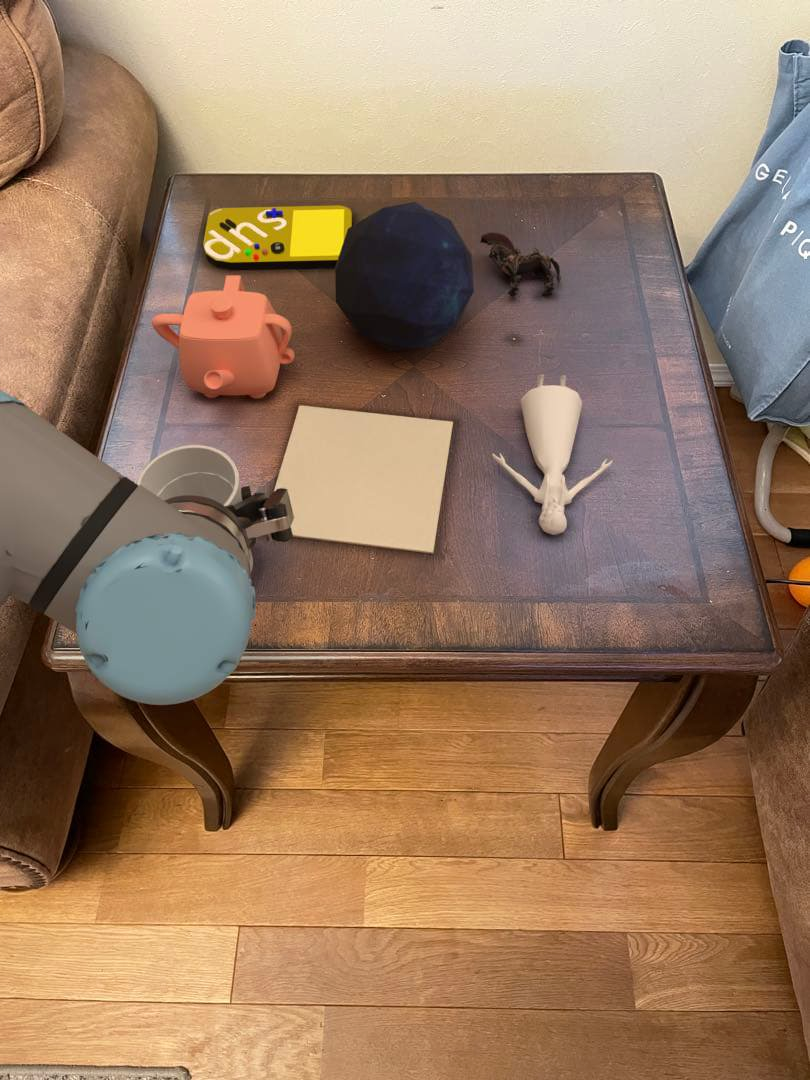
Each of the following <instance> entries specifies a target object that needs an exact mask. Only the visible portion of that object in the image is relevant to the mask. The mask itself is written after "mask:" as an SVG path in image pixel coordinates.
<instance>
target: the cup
mask: <svg viewBox="0 0 810 1080" xmlns="http://www.w3.org/2000/svg"><path fill="white" fill-rule="evenodd" d="M136 484H137V485H138V486H139V485H141V486H143V487H144V488H146V489H147V490H149V491H150V492H152V493H153V494H155V495H156V496H157V497H159V498H160V499H162V500H163V501H165V500H167V499H170V498H173V497H177V496H184V495H195V496H202V497H206V498H209V499H212V500H215V501H217V502H219V503H220V504H222V505H224V506H228V505H233V506H234V505H236V504H238V503H240V502H241V501H242V495H241V480H240V475H239V471H238V468H237V465H236V464H235V462H234V461H233V459H232V458H231V457H230V456H229V455H228V454H226V453H225V452H224V451H221V450H220V449H218V448H215V447H212V446H208V445H202V444H188V445H181V446H177V447H174V448H171V449H169V450H166V451H164V452H162V453H160V454H159V455H157V456H156V457H155V458H153V459H152V460H150V462H148V464H147V465H146V466H145V467H144V468H143V469H142V471H141V473H140V474H139V476H138V479H137V482H136ZM249 555H250V574H251V573H252V571H253V566H254V559H253V554H252V552H251V549H249Z"/></svg>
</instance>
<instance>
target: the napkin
mask: <svg viewBox="0 0 810 1080" xmlns="http://www.w3.org/2000/svg"><path fill="white" fill-rule="evenodd" d="M453 426H454V421H451V420H440V419H431V418H422V417H412V416H404V415H403V416H402V415H395V414H394V415H393V414H384V413H374V412H365V411H356V410H347V409H346V410H345V409H337V408H327V407H321V406H319V407H318V406H311V405H301V404H300V405H299V406H298V409H297V412H296V415H295V419H294V423H293V426H292V429H291V431H290V435H289V440H288V443H287V446H286V449H285V453H284V455H283V459H282V462H281V467H280V469H279V473H278V475H277V478H276V479H277V480H276V481H275V482H276V483H275V486H274V490H273V492H274V491H276V490H277V489H279V488H285V489H287V490H288V494H289V498H290V503H291V507H292V511H293V515H294V519H293V522H292V524H291V529H292V533H293V538H299V539H308V540H315V541H323V542H334V543H341V544H348V545H349V544H350V545H358V546H365V547H375V548H383V549H390V550H398V551H407V552H414V553H422V554H432V555H433V554H434V550H435V545H436V537H437V531H438V524H439V519H440V513H441V512H440V511H441V505H442V500H443V499H442V498H443V492H444V486H445V485H444V484H445V479H446V472H447V467H448V466H447V465H448V459H449V453H450V446H451V439H452V434H453V433H452V432H453Z"/></svg>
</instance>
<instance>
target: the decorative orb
mask: <svg viewBox="0 0 810 1080" xmlns="http://www.w3.org/2000/svg"><path fill="white" fill-rule="evenodd" d="M334 269H335V270H334V271H335V273H334V274H335V275H334V276H335V277H334V279H335V303H336V304H337V306H338V307H339V309H340V311H341V313H343V315H344V316H345V318H346V319H347V322H349V324H350V326H351V327H352V328H353V330H354V332H355V333H356V334H357V336H358V337H361V338H363V339H366V340H368V341H370V342H372V343H374V344H377V345H378V346H380V347H382V348H385V349H387V350H389V351H392V352H397V351H398V352H399V351H409V350H417V349H426V348H428V347H430V346H431V345H433V344H434V343H435V342H437V341H438V340H439V339H441V338H442V337H444V336H445V335H446V334H448V333H450V332H451V331H452V330H454V328H456V327H458V324H459V322H460V320H461V317H462V316H463V314H464V312H465V310H466V307H467V306H468V304H469V302H470V300H471V297H472V296H473V294H474V291H475V288H474V271H473V270H474V269H473V255H472V253H471V252H470V250H469V248H468V247H467V245H466V243H465V241H464V240H463V238H462V236H461V234H460V233H459V231H458V229H457V228H456V226H455V224H454V223H453V221H452V219H449V218H447V217H446V216H444V215H441V214H440V213H438V212H435V211H434V210H432V209H430V208H428V207H426V206H424V205H422V204H420V203H418V202H416V201H411V202H408V203H402V204H397V205H395V204H394V205H391V206H385V207H382V208H379V209H378V210H377V211H374V213H372V214H370V215H368V216H366V217H364V218H363V219H361V220H360V221H358V222H357V223H355V224H352V226H351V227H350V228H348V230H347V233H346V236H345V239H344V242H343V245H342V248H341V251H340V254H339V257H338V260H337V263H336V266H335V268H334Z"/></svg>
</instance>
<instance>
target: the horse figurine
mask: <svg viewBox="0 0 810 1080" xmlns="http://www.w3.org/2000/svg"><path fill="white" fill-rule="evenodd" d="M498 232H499V231H497V232H493V231H488V232H487V233H484V234H481V237H480V241H479V243H480V244H482V243H483V244H486V245H487V246H490V248H489V250H488V251H489V252H488V258H489V259H492V261H493V263H494V264H495V265H496V267H497V268H498V269H499V270H501V272H500V275H501V276H504V277H505V278H506V279H507V280H508V281H509V282H510V285H509V286H508V288H509V289H508V291H507V292H506V295H509V296H510V297H515V296H517V295H518V294H517V291H519V282H520V279H521V278H522V276H524V275H529V274H531V273H534V274H535V277H536V278H537V279H539V280H541V281H544V284H545V285H544V288H543V291H542V292H541V294H540V296H545V297H551V296H552V295H553V292H552V291H555V287H554V285H555V284H554V279H556V281H557V283H558V284H561V281H562V277H561V275H560V274H561V270H560V268H561V267H560V265H559V263H558V262H557V261H556V260H554V258H553V257H550V255H549V254H547V253H545V252H543V251H541V252H540V250H539V249H537V247H534V249H533V253H530V254H527V255H522V251H521V249H519V248H515V245H514V243H513V242H512V240H511V239H510V238H509V237H508V235H506V234H503V233H498ZM498 259H499V262H500V264H499V265H498V263H497V262H498ZM552 266H553V268H554V271H555V273H554V274H553V273H552V272H551V269H552ZM521 275H522V276H521ZM512 340H513V341H515V340H516V338H514V337H513V338H512Z"/></svg>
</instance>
